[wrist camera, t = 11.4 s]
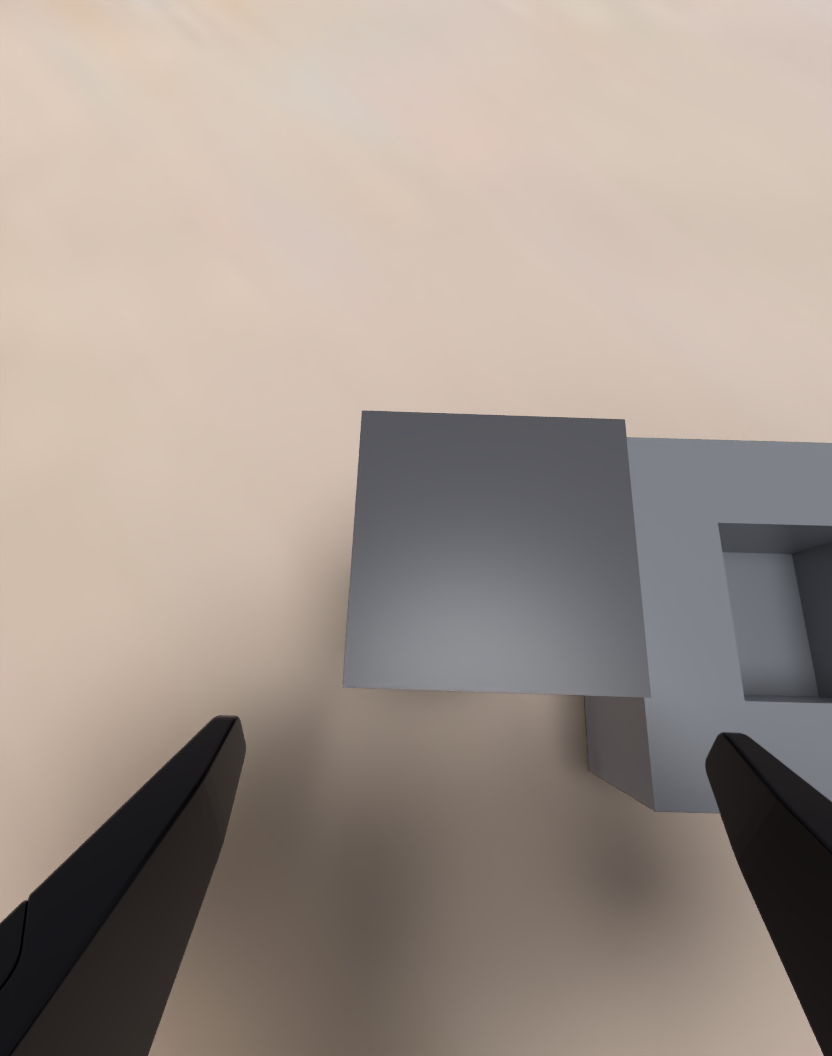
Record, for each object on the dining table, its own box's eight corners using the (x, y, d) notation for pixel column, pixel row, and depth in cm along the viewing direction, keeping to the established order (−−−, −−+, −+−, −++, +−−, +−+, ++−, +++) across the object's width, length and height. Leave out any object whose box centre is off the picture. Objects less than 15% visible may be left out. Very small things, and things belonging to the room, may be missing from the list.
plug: (501, 676, 17) (655, 701, 6) (384, 672, 17) (338, 691, 6) (499, 561, 18) (627, 416, 7) (390, 558, 18) (358, 407, 7)
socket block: (888, 778, 16) (1065, 822, 12) (589, 771, 16) (655, 811, 12) (826, 496, 19) (951, 446, 14) (570, 489, 19) (618, 437, 14)
